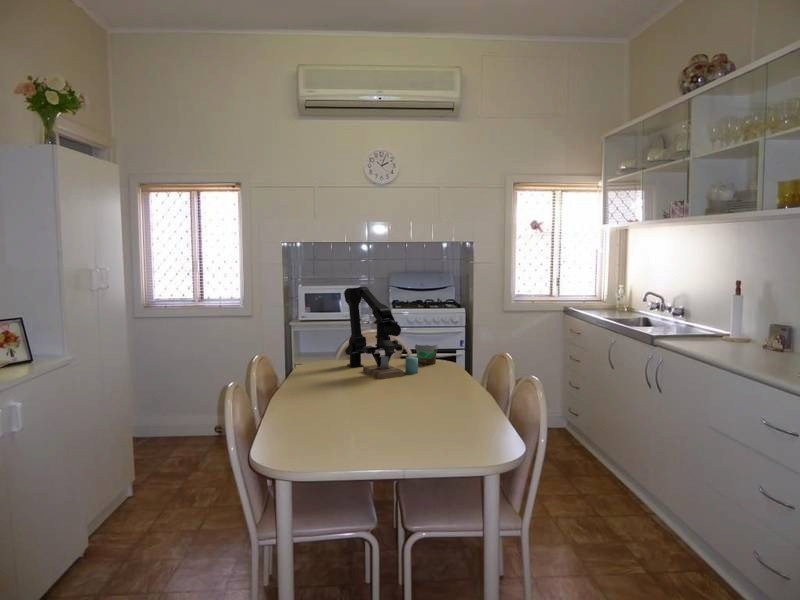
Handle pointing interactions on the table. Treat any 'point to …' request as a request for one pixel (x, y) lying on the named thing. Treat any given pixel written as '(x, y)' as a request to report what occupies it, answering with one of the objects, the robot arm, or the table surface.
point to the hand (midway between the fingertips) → (382, 366)
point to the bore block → (383, 371)
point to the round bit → (411, 365)
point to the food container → (426, 354)
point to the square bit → (384, 362)
